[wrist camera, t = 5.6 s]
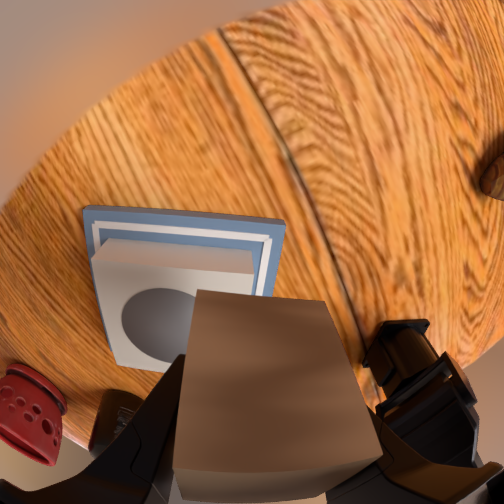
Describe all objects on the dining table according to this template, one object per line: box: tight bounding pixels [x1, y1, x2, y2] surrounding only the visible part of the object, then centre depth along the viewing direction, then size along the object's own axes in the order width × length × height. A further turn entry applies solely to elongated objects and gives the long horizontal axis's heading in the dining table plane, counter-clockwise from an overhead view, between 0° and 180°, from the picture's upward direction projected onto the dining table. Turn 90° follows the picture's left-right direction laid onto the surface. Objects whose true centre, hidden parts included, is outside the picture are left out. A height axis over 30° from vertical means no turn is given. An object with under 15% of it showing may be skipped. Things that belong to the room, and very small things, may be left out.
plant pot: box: [0, 364, 67, 466], centre depth 23 cm, size 13×13×12 cm
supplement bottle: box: [88, 390, 144, 459], centre depth 23 cm, size 7×7×12 cm
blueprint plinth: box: [82, 205, 286, 373], centre depth 19 cm, size 14×14×4 cm
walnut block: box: [173, 289, 383, 503], centre depth 8 cm, size 4×4×6 cm
